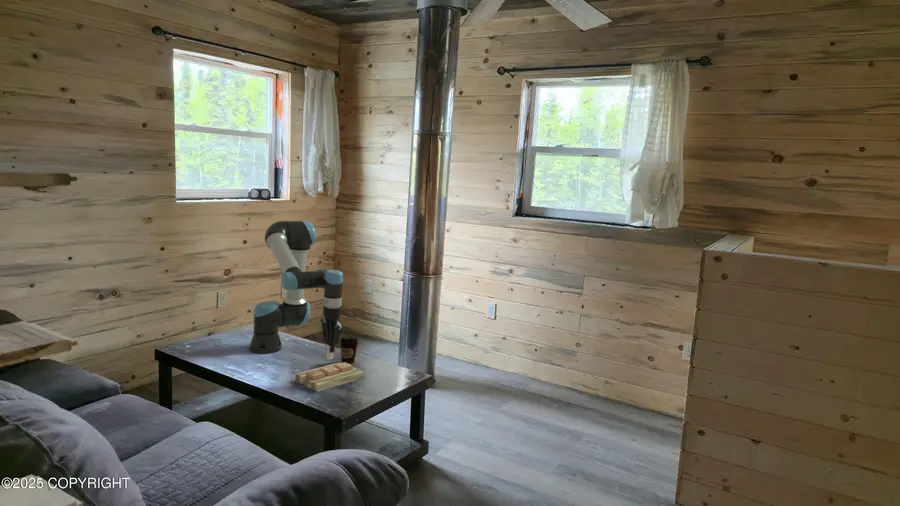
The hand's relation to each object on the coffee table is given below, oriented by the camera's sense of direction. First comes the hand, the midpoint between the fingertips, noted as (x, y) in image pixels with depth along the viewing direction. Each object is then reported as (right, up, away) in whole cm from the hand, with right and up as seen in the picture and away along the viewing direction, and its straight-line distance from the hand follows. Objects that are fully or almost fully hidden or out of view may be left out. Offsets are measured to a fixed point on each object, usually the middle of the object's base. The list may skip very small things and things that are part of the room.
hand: (329, 358), depth 241 cm
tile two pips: (0, -9, +1) cm, 9 cm away
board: (0, -9, +1) cm, 9 cm away
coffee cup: (+4, -7, +22) cm, 24 cm away
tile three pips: (+5, -9, +7) cm, 12 cm away
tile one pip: (-5, -10, -5) cm, 12 cm away
